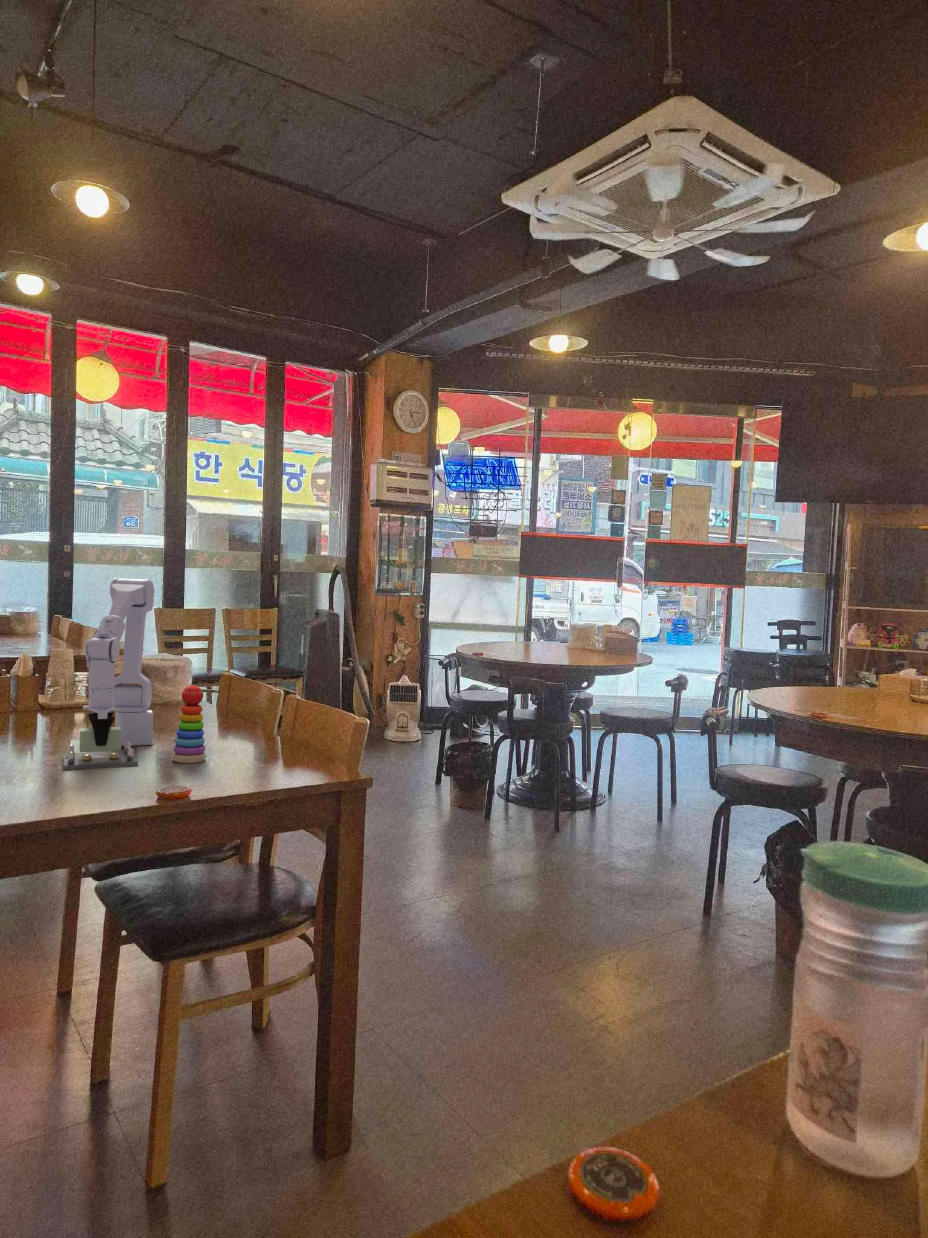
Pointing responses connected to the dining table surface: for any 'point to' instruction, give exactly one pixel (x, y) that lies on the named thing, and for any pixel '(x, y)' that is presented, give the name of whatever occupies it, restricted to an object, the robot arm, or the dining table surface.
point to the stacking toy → (190, 728)
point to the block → (90, 745)
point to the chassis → (99, 758)
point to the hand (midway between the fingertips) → (100, 743)
